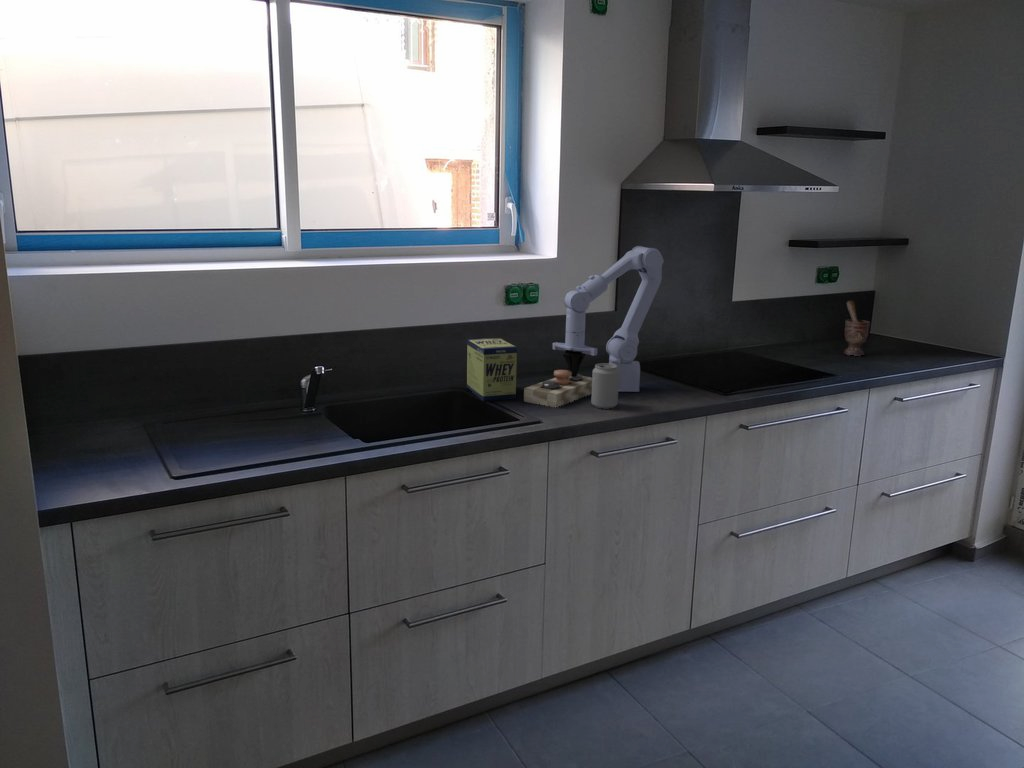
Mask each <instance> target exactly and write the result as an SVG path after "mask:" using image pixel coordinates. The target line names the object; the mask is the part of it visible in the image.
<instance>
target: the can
mask: <svg viewBox="0 0 1024 768" xmlns="http://www.w3.org/2000/svg"><path fill="white" fill-rule="evenodd" d="M591 378H592V394H591V398H590V399H591V401H590V404H592V405H593V407H594V406H595V407H594V408H596V409H601V408H603V409H602V410H604V409H605V410H608V409H610V408H611V409H614V408H615V407H616V406H617V405H618V401H619V392H618V387H619V370H618V369H617V366H616V365H614V364H609V363H607V362H606V363H604V362H602V363H596V364H594V368H593V369H592V377H591Z"/></svg>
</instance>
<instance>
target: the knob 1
mask: <svg viewBox="0 0 1024 768" xmlns="http://www.w3.org/2000/svg"><path fill="white" fill-rule="evenodd" d="M542 388H544V389H550V390H555V389H559V388H560V383H559V382H555V381H547V380H545V382H544V381H542Z"/></svg>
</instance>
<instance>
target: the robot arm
mask: <svg viewBox="0 0 1024 768" xmlns="http://www.w3.org/2000/svg"><path fill="white" fill-rule="evenodd" d="M631 249H632V250H629V251H626V252H625V254H624V256H622V257H621V258H620V259H618V261H617V262H615V263H614V264H613V265H611V266H610V267H609V268H608V269H607V270H605V271H604V272H603V273H602V274H594V275H589V276H588V277H587V278H588V280H586V281H585V282H584V283H582V284H581V285H577V286H576V287H575V289H576V290H569V291H568V292H567V293H566V295H565V297H564V299H563V305H564V307H565V308H566V314H565V315H566V317H565V338H564V339H565V340H564V341H565V342H557V341H555V342H552V350H559V351H565V352H563V353H562V355H563V358H564V359H565V362H566V365H567V367H568V370H569V371H571V372H572V375H571V376H577V374H579V370H580V367H581V364H582V362H583V360H584V358H586V357H585V356H586V355H590V356H592V357H593V356H597V355H598V347H597V348H596V347H592V346H589V345H585V339H586V336H585V335H586V315H587V314H586V313H587V311H586V310H588V308H589V306H590V304H591V303H592V302H593V301H595V299H597V298H598V297H600V296H602V295H603V294H604V293H605V292H606V291H607V290H608V287H609V284H610V283H612V282H613V281H615V280H616V279H617V278H620V277H621V276H623V275H624V274H625V273H627V272H628V271H631V270H636V271H638V274H639V277H641V282H640V285H639V286H638V289H637V291H636V294H635V296H634V298H633V300H632V302H631V304H630V307H629V309H628V311H627V313H626V316H625V318H624V321H622V322H623V323H622V325H621V327H620V328H618V329H617V330H616V331H614V333H613V336H612V337H610V339H609V340H608V341H607V343H606V346H605V351H606V352H607V354H608V355H609V358H608V360H609V361H608V364H614V365H616V366H617V369H618V370H619V387H618V393H619V392H621V393H622V392H623V393H624V392H625V393H627V392H629V393H631V392H634V393H635V392H637V393H638V392H640V383H641V381H640V380H641V379H640V377H641V365H640V364H641V363H640V361H639V360H635V359H636V357H637V355H638V346H639V343H640V340H639V332H640V330H641V328H642V325H643V323H644V321H645V318H646V316H647V315H648V312H649V309H650V307H651V305H652V303H653V300H654V298H655V297H656V294H657V292H658V290H659V288H660V285H661V283H662V280H663V279H662V277H663V276H662V275H663V272H662V270H663V268H662V267H663V264H664V262H665V261H664V258H663V256H662V253H661V252H660V250H659V249H657V248H654V247H646V246H642V245H637V246H634V247H633V248H631Z"/></svg>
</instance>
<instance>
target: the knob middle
mask: <svg viewBox="0 0 1024 768" xmlns="http://www.w3.org/2000/svg"><path fill="white" fill-rule="evenodd" d="M571 375H572V372H571V371H569V369H568V370H567V369H555V370H553V376H554V378H556V382H559V383H560V385H562V386H567V385H569V377H571Z"/></svg>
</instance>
